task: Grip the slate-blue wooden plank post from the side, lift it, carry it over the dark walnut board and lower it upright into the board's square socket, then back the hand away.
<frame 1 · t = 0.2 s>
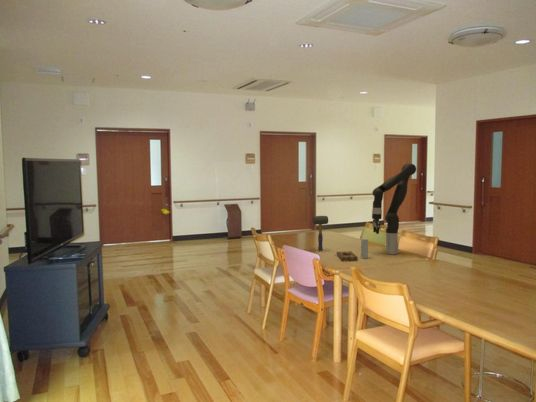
hand: (376, 233, 342), 17 cm above the table, tool pointing down, fingers open, 8 cm apart
plank post: (364, 257, 330), on the table
rubber mallet: (320, 250, 358), on the table
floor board: (346, 258, 330), on the table
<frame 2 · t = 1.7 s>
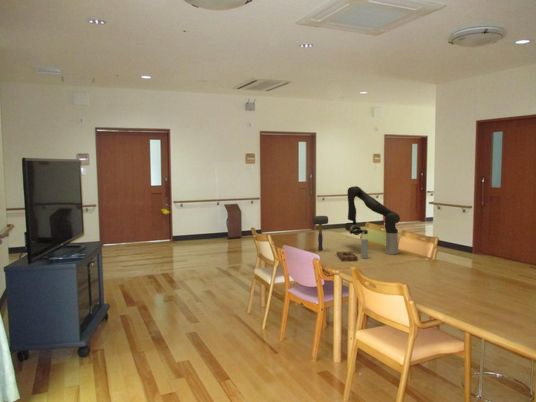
hand: (360, 233, 340), 17 cm above the table, tool horizontal, fingers open, 8 cm apart
nothing on the table moved.
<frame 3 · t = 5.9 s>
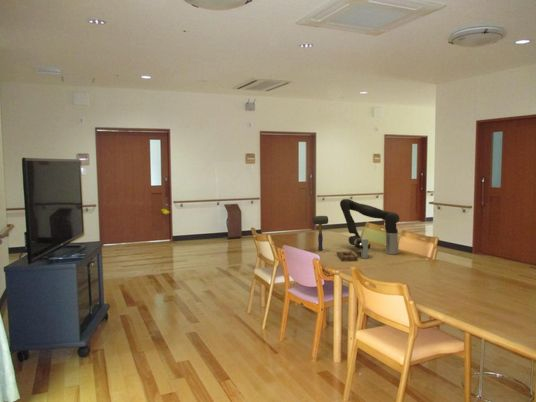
hand: (365, 247, 327), 9 cm above the table, tool horizontal, fingers closed on plank post, 4 cm apart
plank post: (364, 257, 330), on the table, touching gripper
everything else where it was.
when the fingers open (10 cm above the table, at t = 11.1 s): plank post drops 1 cm, resting in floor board.
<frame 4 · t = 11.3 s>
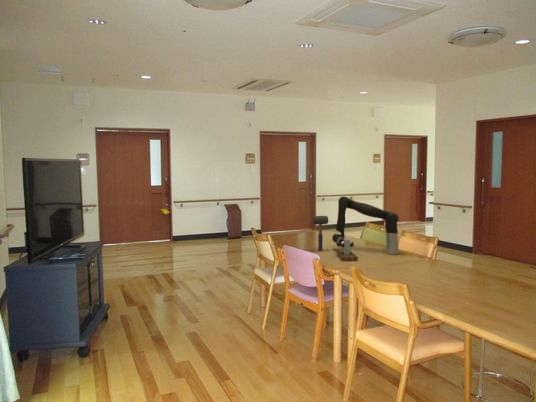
hand: (347, 246, 326), 10 cm above the table, tool horizontal, fingers open, 6 cm apart
plank post: (346, 258, 330), resting in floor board
everything else where it was.
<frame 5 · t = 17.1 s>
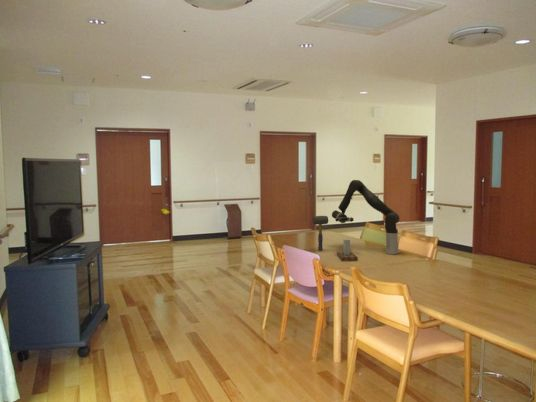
hand: (346, 220, 338), 28 cm above the table, tool horizontal, fingers open, 8 cm apart
nothing on the table moved.
at the end: plank post 0.0 cm off-centre on the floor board, point 0.0 cm above the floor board's base; plank post tilted 0°; the gripper is holding nothing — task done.
